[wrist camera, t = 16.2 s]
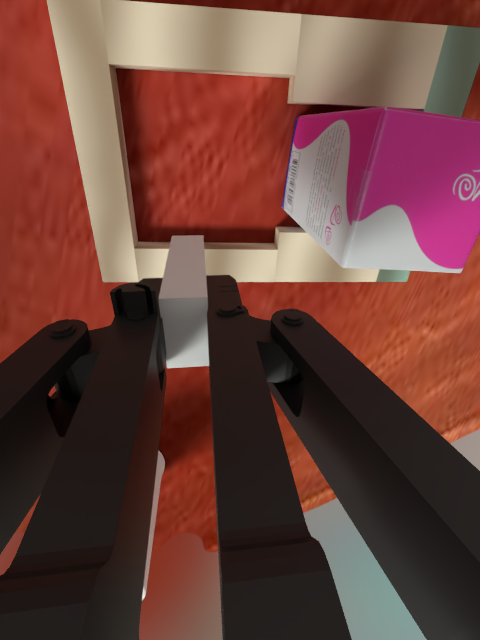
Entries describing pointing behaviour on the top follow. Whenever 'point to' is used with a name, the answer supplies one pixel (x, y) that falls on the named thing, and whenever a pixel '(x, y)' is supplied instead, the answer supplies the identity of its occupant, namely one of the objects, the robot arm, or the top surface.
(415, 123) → the supplement box
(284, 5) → the top surface
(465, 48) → the cream and green frame
